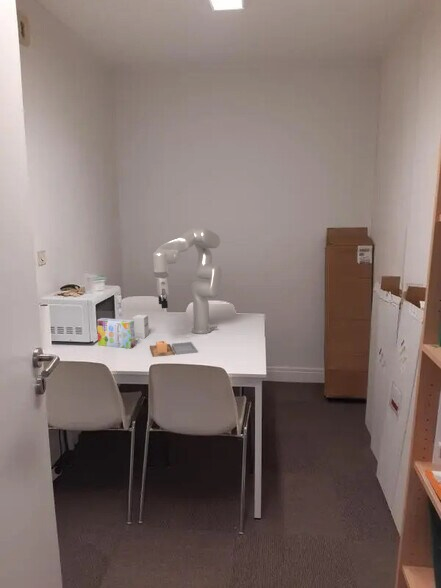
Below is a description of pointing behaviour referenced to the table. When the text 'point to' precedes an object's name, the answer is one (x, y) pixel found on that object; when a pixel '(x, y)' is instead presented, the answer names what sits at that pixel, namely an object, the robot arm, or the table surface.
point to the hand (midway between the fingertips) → (163, 305)
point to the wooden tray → (169, 352)
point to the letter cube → (161, 346)
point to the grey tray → (184, 348)
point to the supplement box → (141, 326)
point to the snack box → (116, 332)
